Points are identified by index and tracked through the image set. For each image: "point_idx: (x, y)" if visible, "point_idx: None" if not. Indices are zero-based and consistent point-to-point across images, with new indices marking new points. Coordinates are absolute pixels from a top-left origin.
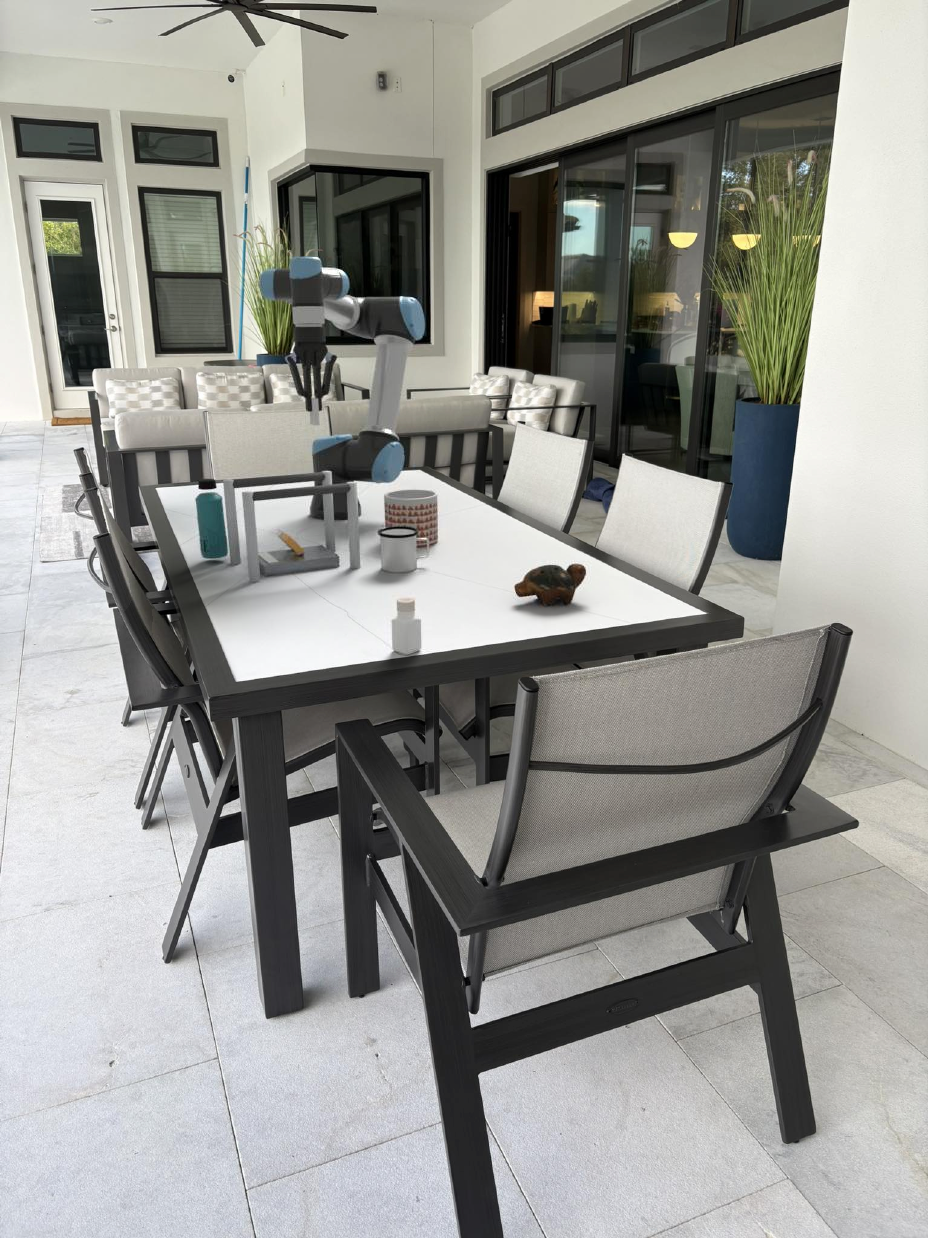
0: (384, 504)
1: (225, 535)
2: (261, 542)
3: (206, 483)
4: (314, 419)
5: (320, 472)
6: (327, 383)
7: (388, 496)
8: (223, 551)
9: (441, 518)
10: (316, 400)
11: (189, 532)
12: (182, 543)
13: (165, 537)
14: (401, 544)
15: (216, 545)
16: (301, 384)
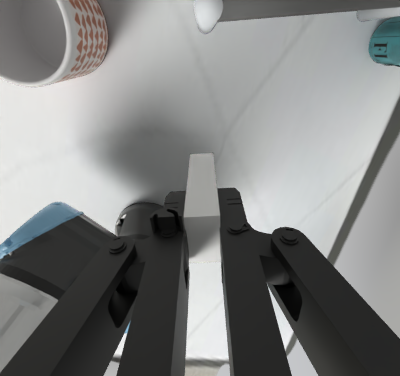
0: (81, 39)
1: (397, 29)
2: (277, 129)
3: None
4: (210, 161)
5: (227, 2)
6: (82, 299)
7: (62, 12)
8: (391, 20)
9: (11, 160)
10: (194, 209)
11: (330, 212)
12: (363, 166)
13: (364, 201)
14: None
15: None
16: (319, 291)
